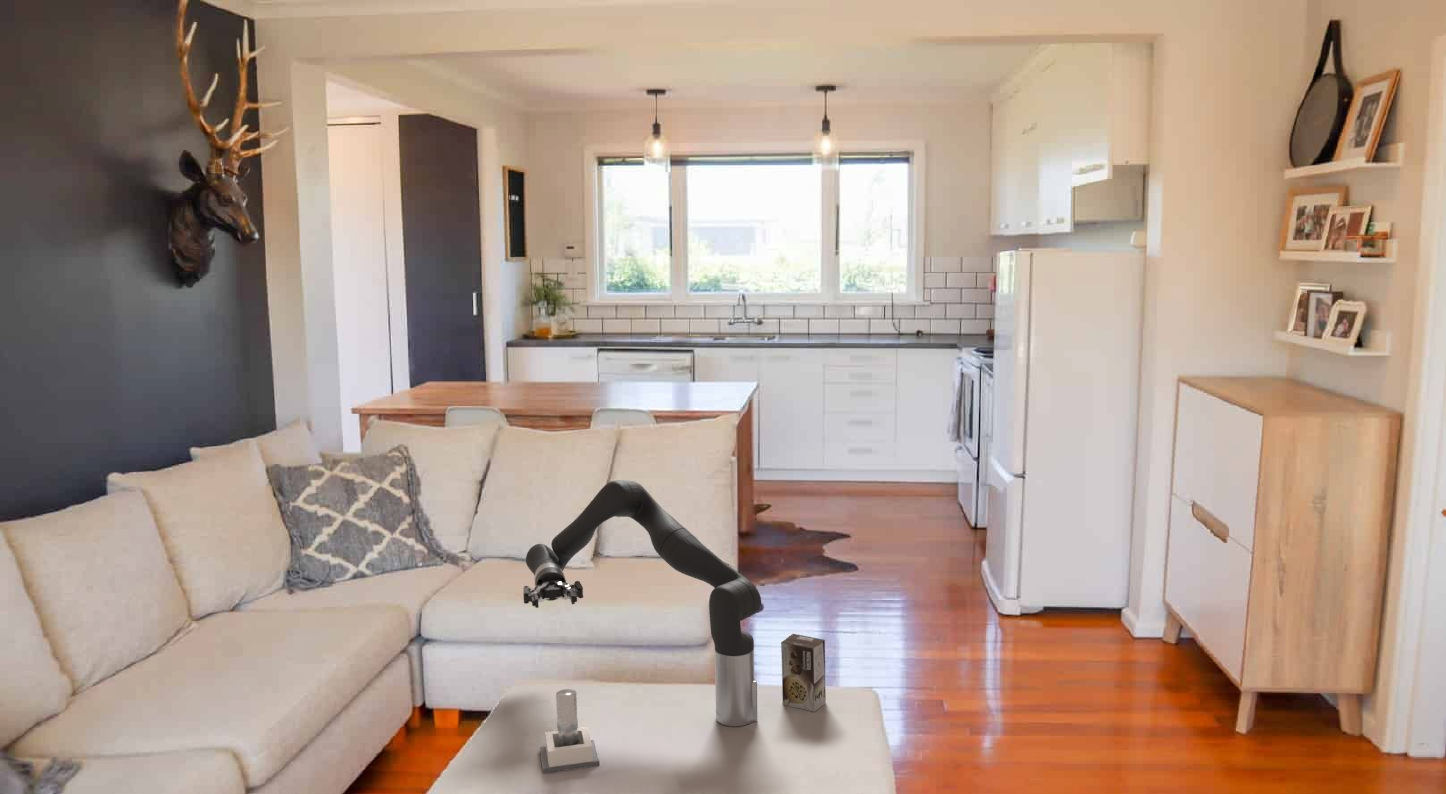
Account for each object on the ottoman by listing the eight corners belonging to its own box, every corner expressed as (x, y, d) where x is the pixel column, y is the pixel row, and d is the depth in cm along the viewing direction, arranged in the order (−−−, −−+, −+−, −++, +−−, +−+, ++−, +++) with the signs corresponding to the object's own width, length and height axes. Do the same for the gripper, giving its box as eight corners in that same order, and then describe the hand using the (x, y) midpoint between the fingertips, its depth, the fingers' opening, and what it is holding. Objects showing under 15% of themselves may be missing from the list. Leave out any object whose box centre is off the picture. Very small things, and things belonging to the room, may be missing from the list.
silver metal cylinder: (577, 747, 228) (575, 687, 226) (579, 756, 224) (577, 696, 221) (557, 750, 227) (555, 690, 225) (559, 759, 222) (556, 698, 220)
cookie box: (826, 702, 250) (826, 639, 248) (814, 712, 245) (814, 648, 242) (793, 694, 255) (793, 632, 253) (781, 704, 250) (780, 641, 247)
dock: (593, 743, 231) (593, 725, 231) (599, 765, 222) (598, 745, 221) (540, 750, 229) (539, 731, 228) (543, 772, 219) (542, 753, 218)
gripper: (520, 569, 256) (523, 589, 241) (577, 563, 260) (584, 583, 244) (522, 597, 257) (525, 620, 242) (579, 592, 261) (585, 614, 245)
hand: (555, 601), depth 243 cm, fingers open, 8 cm apart
